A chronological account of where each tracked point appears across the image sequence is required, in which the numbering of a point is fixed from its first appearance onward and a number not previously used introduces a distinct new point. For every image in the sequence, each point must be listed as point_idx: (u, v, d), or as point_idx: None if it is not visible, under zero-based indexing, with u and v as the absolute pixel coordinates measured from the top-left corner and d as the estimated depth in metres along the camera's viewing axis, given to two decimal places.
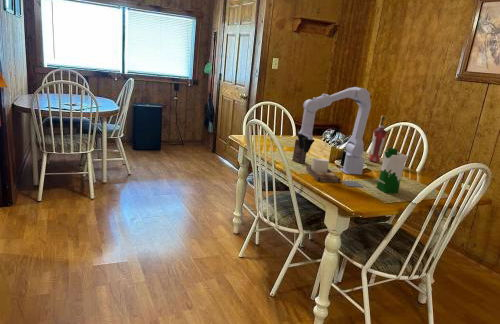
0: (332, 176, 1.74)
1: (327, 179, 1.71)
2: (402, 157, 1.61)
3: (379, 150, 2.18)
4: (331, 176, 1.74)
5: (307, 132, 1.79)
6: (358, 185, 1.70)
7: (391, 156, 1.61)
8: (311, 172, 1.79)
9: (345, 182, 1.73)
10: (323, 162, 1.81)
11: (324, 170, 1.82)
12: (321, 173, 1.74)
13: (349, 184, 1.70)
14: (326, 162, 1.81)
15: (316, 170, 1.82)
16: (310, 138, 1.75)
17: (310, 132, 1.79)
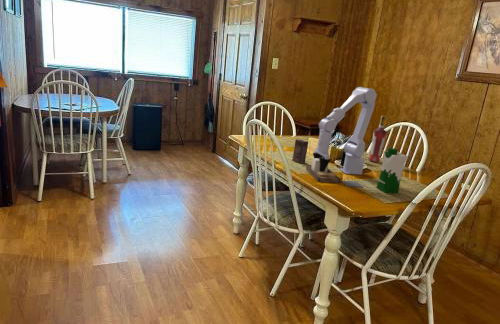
0: (332, 176, 1.74)
1: (327, 179, 1.71)
2: (402, 157, 1.61)
3: (379, 150, 2.18)
4: (331, 176, 1.74)
5: (323, 151, 1.79)
6: (358, 185, 1.70)
7: (391, 156, 1.61)
8: (311, 172, 1.79)
9: (345, 182, 1.73)
10: None
11: None
12: (321, 173, 1.74)
13: (349, 184, 1.70)
14: None
15: (316, 170, 1.82)
16: (327, 158, 1.75)
17: (326, 151, 1.79)
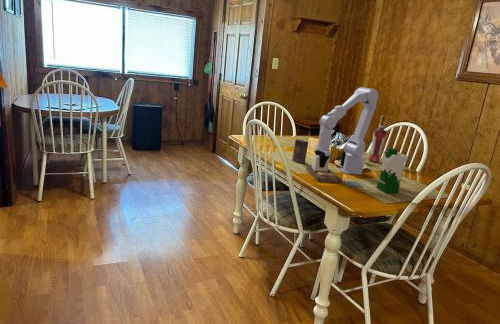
0: (332, 176, 1.74)
1: (327, 179, 1.71)
2: (402, 157, 1.61)
3: (379, 150, 2.18)
4: (331, 176, 1.73)
5: (324, 148, 1.78)
6: (358, 185, 1.70)
7: (391, 156, 1.61)
8: (311, 172, 1.79)
9: (345, 182, 1.73)
10: None
11: (324, 166, 1.82)
12: (321, 173, 1.74)
13: (349, 184, 1.70)
14: None
15: (317, 167, 1.81)
16: (327, 154, 1.75)
17: (327, 148, 1.79)
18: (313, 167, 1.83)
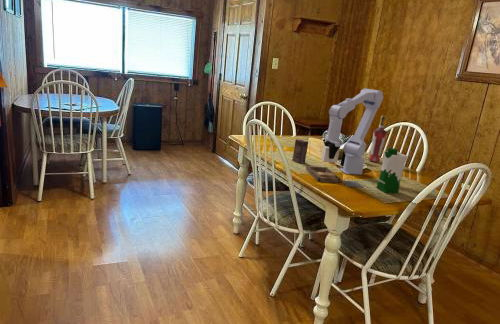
0: (332, 176, 1.74)
1: (327, 179, 1.71)
2: (402, 157, 1.61)
3: (379, 150, 2.18)
4: (331, 176, 1.73)
5: (334, 139, 1.74)
6: (358, 185, 1.70)
7: (391, 156, 1.61)
8: (311, 172, 1.79)
9: (345, 182, 1.73)
10: None
11: (334, 158, 1.77)
12: (321, 173, 1.74)
13: (349, 184, 1.70)
14: None
15: (326, 158, 1.77)
16: (337, 145, 1.70)
17: (337, 139, 1.74)
18: (322, 158, 1.78)
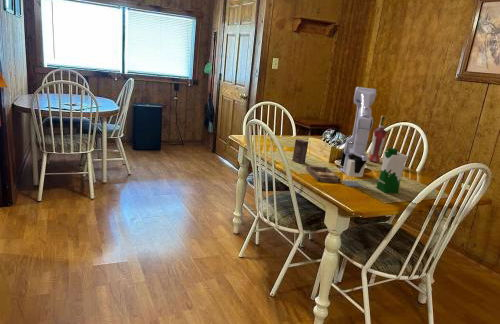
0: (332, 176, 1.73)
1: (327, 179, 1.71)
2: (402, 157, 1.61)
3: (379, 150, 2.18)
4: (331, 176, 1.73)
5: (360, 152, 1.65)
6: (358, 185, 1.70)
7: (391, 156, 1.61)
8: (311, 172, 1.79)
9: (345, 182, 1.73)
10: None
11: (360, 172, 1.69)
12: (321, 173, 1.74)
13: (349, 184, 1.70)
14: None
15: (352, 172, 1.68)
16: (365, 159, 1.61)
17: (363, 152, 1.65)
18: (347, 172, 1.69)
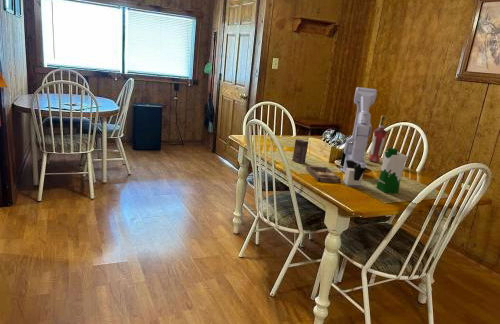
0: (332, 176, 1.73)
1: (327, 179, 1.71)
2: (402, 157, 1.61)
3: (379, 150, 2.18)
4: (331, 176, 1.73)
5: (359, 159, 1.66)
6: (358, 185, 1.70)
7: (391, 156, 1.61)
8: (311, 172, 1.79)
9: None
10: None
11: None
12: (321, 173, 1.74)
13: None
14: None
15: (350, 181, 1.69)
16: (363, 166, 1.62)
17: (362, 159, 1.66)
18: (345, 181, 1.71)
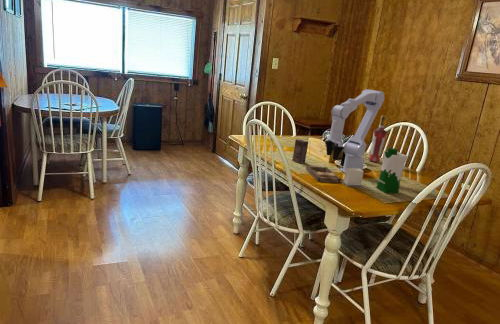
0: (332, 176, 1.73)
1: (327, 179, 1.71)
2: (402, 157, 1.61)
3: (379, 150, 2.18)
4: (331, 176, 1.73)
5: (336, 139, 1.74)
6: (358, 185, 1.70)
7: (391, 156, 1.61)
8: (311, 172, 1.79)
9: None
10: (357, 172, 1.69)
11: (358, 180, 1.70)
12: (321, 173, 1.74)
13: None
14: (361, 172, 1.69)
15: (350, 181, 1.69)
16: (340, 145, 1.71)
17: (339, 139, 1.75)
18: (345, 181, 1.71)
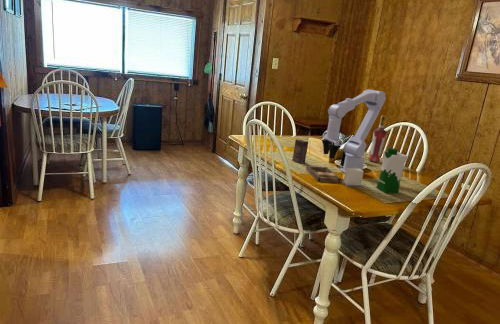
0: (332, 176, 1.73)
1: (327, 179, 1.71)
2: (402, 157, 1.61)
3: (379, 150, 2.18)
4: (331, 176, 1.73)
5: (333, 138, 1.76)
6: (358, 185, 1.70)
7: (391, 156, 1.61)
8: (311, 172, 1.79)
9: None
10: (357, 172, 1.69)
11: (358, 180, 1.70)
12: (321, 173, 1.75)
13: None
14: (361, 172, 1.69)
15: (350, 181, 1.69)
16: (337, 144, 1.72)
17: (336, 138, 1.76)
18: (345, 181, 1.71)
